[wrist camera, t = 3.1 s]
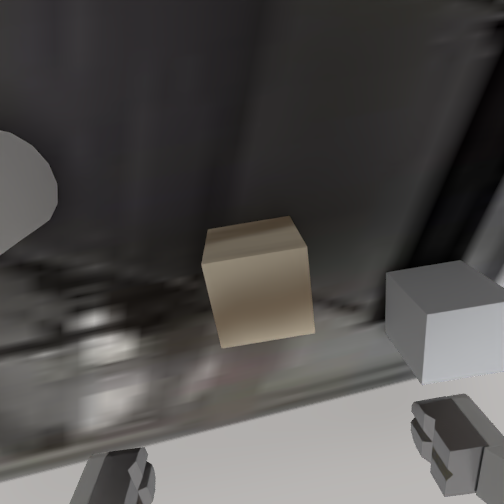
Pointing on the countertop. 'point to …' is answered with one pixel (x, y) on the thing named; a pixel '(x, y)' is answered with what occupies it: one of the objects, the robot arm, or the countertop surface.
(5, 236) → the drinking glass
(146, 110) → the countertop surface
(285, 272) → the ash block
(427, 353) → the grey block
